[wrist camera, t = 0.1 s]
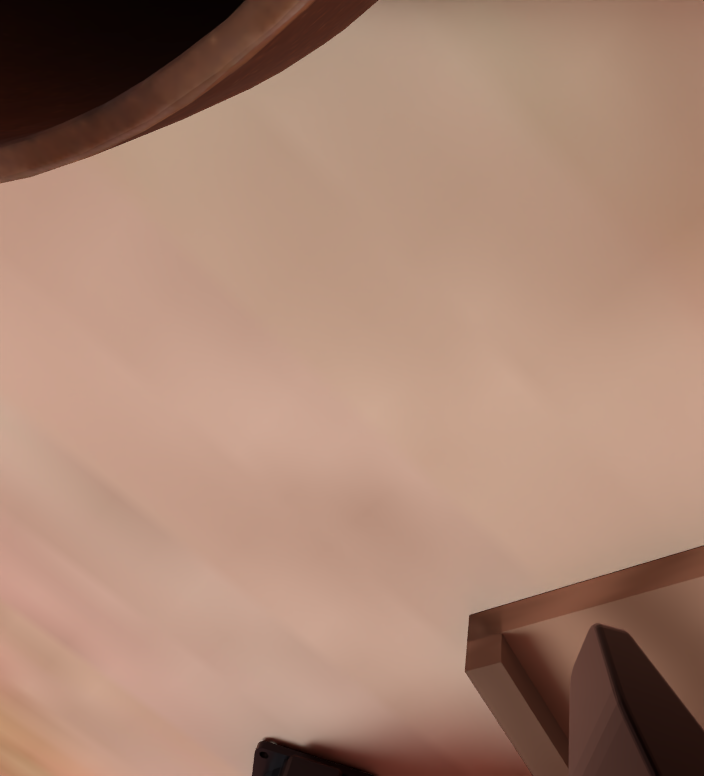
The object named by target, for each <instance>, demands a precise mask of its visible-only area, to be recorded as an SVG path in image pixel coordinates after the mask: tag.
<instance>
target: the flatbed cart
mask: <svg viewBox="0 0 704 776" xmlns="http://www.w3.org/2000/svg"><path fill="white" fill-rule="evenodd" d="M595 623H601V624H605V625H609V626H613V627H616V628H620V629H623V630H625V631H627V632H628V633H629V634H630V635H631V636H632V637H633V639H634V640H635V641H636V643H637V644H638V645H639V646H640V648H641V649H642V650H643V652H644V653H645V654H646V655H647V657H648V658H649V659H650V661H651V662H652V663H653V664H654V666H655V667H656V668H657V670H658V671H659V672H660V674H661V675H662V676H663V677H664V679H665V680H666V681H667V683H668V684H669V685H670V686H671V688H672V689H673V690H674V692H675V693H676V694H677V695H678V697H679V698H680V699H681V701H682V702H683V703H684V705H685V706H686V707H687V708H688V710H689V711H690V712H691V714H692V715H693V716H694V717H695V719H696V720H697V721H698V723H699V724H700V725H701V726H702V728H703V729H704V546H702V547H699V548H695V549H692V550H689V551H685V552H682V553H678V554H675V555H672V556H668V557H665V558H662V559H658V560H655V561H652V562H648V563H645V564H641V565H638V566H635V567H631V568H628V569H625V570H621V571H618V572H614V573H611V574H608V575H604V576H601V577H598V578H594V579H591V580H588V581H584V582H581V583H577V584H574V585H571V586H567V587H564V588H561V589H557V590H554V591H550V592H547V593H544V594H540V595H537V596H534V597H530V598H527V599H524V600H520V601H517V602H513V603H510V604H507V605H503V606H500V607H497V608H493V609H490V610H486V611H483V612H480V613H476V614H473V615H470V616H469V626H468V639H467V651H466V664H465V673H466V674H467V676H468V677H469V679H470V680H471V682H472V683H473V685H474V686H475V688H476V689H477V691H478V692H479V694H480V695H481V697H482V698H483V700H484V702H485V703H486V705H487V706H488V708H489V709H490V711H491V712H492V714H493V715H494V717H495V718H496V720H497V721H498V723H499V724H500V726H501V728H502V729H503V731H504V732H505V734H506V735H507V737H508V738H509V740H510V741H511V743H512V744H513V746H514V747H515V749H516V750H517V752H518V754H519V755H520V757H521V758H522V760H523V761H524V763H525V764H526V766H527V767H528V769H529V770H530V772H531V773H532V775H533V776H568V770H569V715H570V680H571V674H572V669H573V666H574V663H575V661H576V659H577V656H578V654H579V652H580V649H581V647H582V644H583V642H584V640H585V637H586V635H587V632H588V630H589V628H590V627H591V626H592V625H593V624H595Z"/></svg>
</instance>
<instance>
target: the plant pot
mask: <svg viewBox="0 0 704 776" xmlns="http://www.w3.org/2000/svg"><path fill="white" fill-rule="evenodd" d="M377 1H378V0H0V183H4V182H9V181H14V180H18V179H23V178H28V177H32V176H35V175H38V174H41V173H44V172H47V171H50V170H53V169H55V168H58V167H61V166H64V165H67V164H70V163H73V162H76V161H79V160H82V159H85V158H88V157H91V156H93V155H96V154H98V153H101V152H103V151H106V150H108V149H111V148H113V147H116V146H118V145H121V144H123V143H126V142H128V141H131V140H133V139H136V138H138V137H141V136H143V135H146V134H148V133H150V132H153V131H155V130H158V129H160V128H163V127H165V126H168V125H170V124H173V123H175V122H178V121H180V120H182V119H185V118H187V117H189V116H191V115H193V114H196V113H198V112H200V111H202V110H204V109H206V108H209V107H211V106H213V105H215V104H217V103H220V102H222V101H224V100H226V99H228V98H231V97H233V96H235V95H237V94H239V93H242V92H244V91H246V90H248V89H250V88H252V87H254V86H256V85H258V84H259V83H261V82H263V81H265V80H267V79H269V78H271V77H272V76H274V75H276V74H278V73H280V72H282V71H283V70H285V69H286V68H288V67H289V66H291V65H292V64H294V63H296V62H297V61H299V60H300V59H302V58H303V57H305V56H306V55H308V54H309V53H311V52H312V51H314V50H315V49H317V48H319V47H320V46H322V45H323V44H325V43H326V42H327V41H329V40H330V39H332V38H333V37H334V36H336V35H337V34H338V33H340V32H341V31H343V30H344V29H345V28H346V27H348V26H349V25H350V24H351V23H352V22H353V21H355V20H356V19H357V18H358V17H359V16H360V15H362V14H363V13H364V12H365V11H366V10H367V9H369V8H370V7H371V6H372V5H373V4H374V3H376V2H377Z"/></svg>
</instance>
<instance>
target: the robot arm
mask: <svg viewBox="0 0 704 776" xmlns="http://www.w3.org/2000/svg"><path fill="white" fill-rule="evenodd" d="M252 776H373V775H371V774H368V773H365V772H362V771H359V770H355V769H352V768H349V767H346V766H343V765H340V764H336V763H333V762H330V761H327V760H324V759H321V758H317V757H314V756H311V755H308V754H305V753H301V752H298V751H295V750H292V749H289V748H286V747H282V746H279V745H276V744H273V743H270V742H266V741H261V742H259V743H258V745H257V748H256V750H255V755H254V764H253V772H252ZM568 776H704V729H703V728H702V726H701V725H700V724H699V723H698V721H697V720H696V719H695V717H694V716H693V715H692V714H691V712H690V711H689V710H688V708H687V707H686V706H685V705H684V703H683V702H682V701H681V699H680V698H679V697H678V695H677V694H676V693H675V692H674V690H673V689H672V688H671V686H670V685H669V684H668V683H667V681H666V680H665V679H664V677H663V676H662V675H661V674H660V672H659V671H658V670H657V668H656V667H655V666H654V664H653V663H652V662H651V661H650V659H649V658H648V657H647V655H646V654H645V653H644V652H643V650H642V649H641V648H640V646H639V645H638V644H637V643H636V641H635V640H634V639H633V637H632V636H631V635H630V634H629V633H628V632H627V631H625V630H623V629H620V628H616V627H613V626H609V625H605V624H601V623H595V624H593V625H592V626H591V627H590V628H589V630H588V632H587V635H586V637H585V640H584V642H583V644H582V647H581V649H580V652H579V654H578V656H577V659H576V661H575V663H574V666H573V669H572V674H571V680H570V715H569V770H568Z"/></svg>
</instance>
